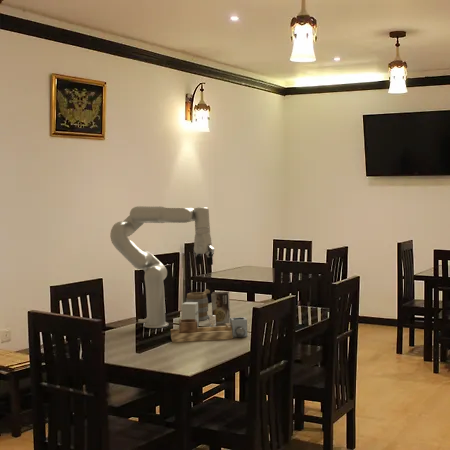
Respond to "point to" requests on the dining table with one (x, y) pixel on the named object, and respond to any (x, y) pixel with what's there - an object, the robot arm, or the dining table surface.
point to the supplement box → (190, 311)
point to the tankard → (200, 303)
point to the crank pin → (212, 320)
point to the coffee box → (221, 307)
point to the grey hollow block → (239, 327)
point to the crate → (188, 326)
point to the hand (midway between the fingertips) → (204, 264)
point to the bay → (203, 334)
